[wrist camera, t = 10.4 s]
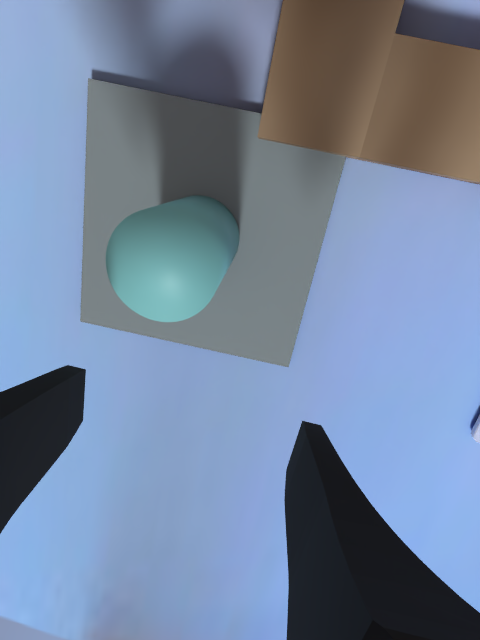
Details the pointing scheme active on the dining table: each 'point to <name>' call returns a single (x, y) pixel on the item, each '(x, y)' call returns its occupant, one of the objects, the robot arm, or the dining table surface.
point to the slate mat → (218, 183)
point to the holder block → (372, 89)
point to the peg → (172, 257)
